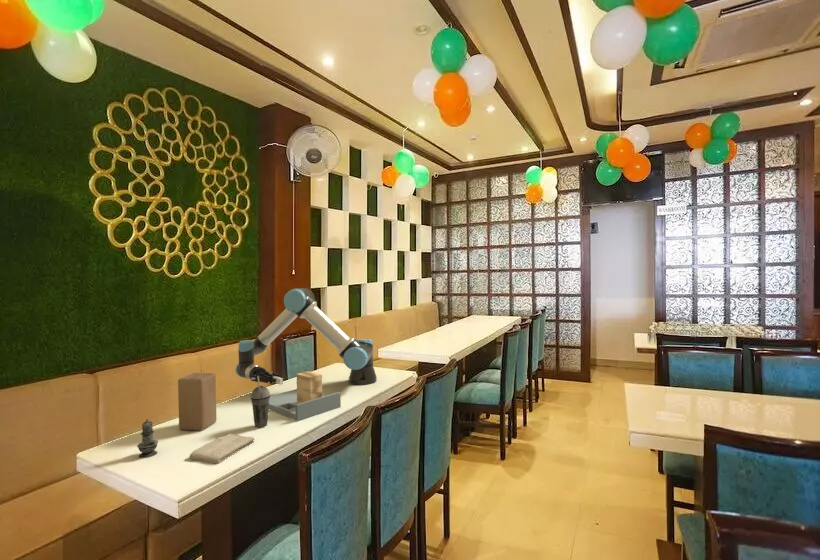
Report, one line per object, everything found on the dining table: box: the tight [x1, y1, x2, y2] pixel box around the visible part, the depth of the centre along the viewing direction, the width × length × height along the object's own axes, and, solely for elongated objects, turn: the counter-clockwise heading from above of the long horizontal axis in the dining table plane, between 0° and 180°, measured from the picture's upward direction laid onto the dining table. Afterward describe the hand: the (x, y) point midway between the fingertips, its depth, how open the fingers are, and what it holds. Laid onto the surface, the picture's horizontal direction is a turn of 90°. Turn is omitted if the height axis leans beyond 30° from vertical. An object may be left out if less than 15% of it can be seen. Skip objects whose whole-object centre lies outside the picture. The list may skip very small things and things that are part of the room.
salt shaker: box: [136, 418, 159, 459], centre depth 135 cm, size 6×6×12 cm
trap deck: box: [268, 388, 342, 422], centre depth 182 cm, size 22×32×6 cm
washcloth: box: [189, 433, 255, 464], centre depth 137 cm, size 12×18×3 cm, turn 162°
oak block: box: [296, 370, 323, 404], centre depth 177 cm, size 6×10×13 cm, turn 50°
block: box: [177, 372, 218, 431], centre depth 159 cm, size 10×10×20 cm
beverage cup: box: [250, 376, 271, 429], centre depth 158 cm, size 7×7×20 cm
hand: (281, 381), depth 191 cm, fingers closed
